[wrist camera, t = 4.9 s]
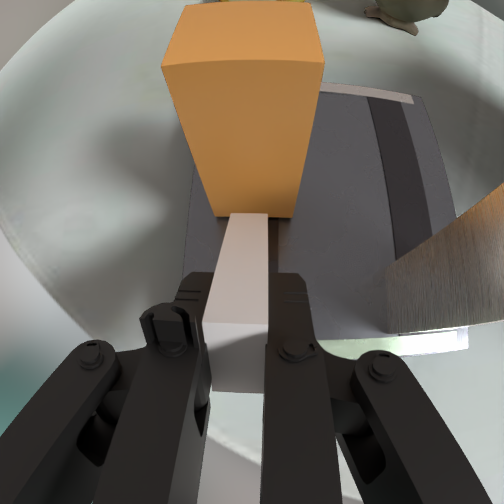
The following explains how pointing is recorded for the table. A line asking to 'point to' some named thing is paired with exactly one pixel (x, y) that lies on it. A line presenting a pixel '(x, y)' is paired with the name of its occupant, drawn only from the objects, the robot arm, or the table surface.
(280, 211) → the handle
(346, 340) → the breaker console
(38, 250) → the table surface
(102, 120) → the table surface
